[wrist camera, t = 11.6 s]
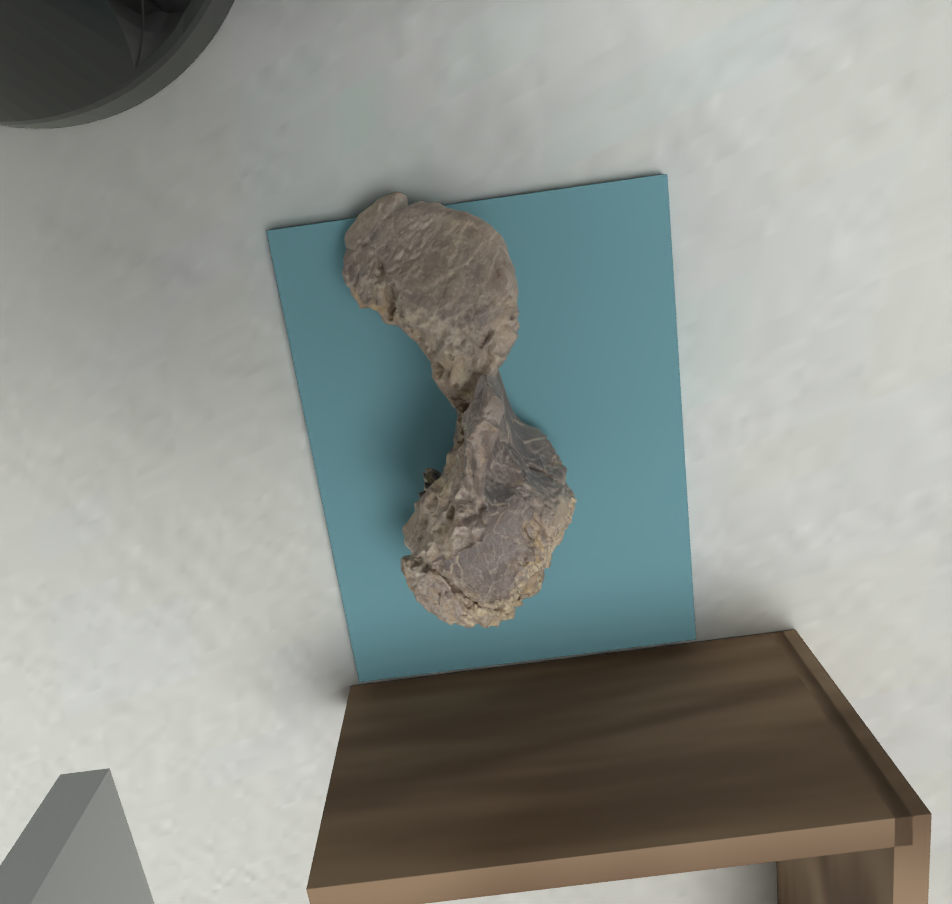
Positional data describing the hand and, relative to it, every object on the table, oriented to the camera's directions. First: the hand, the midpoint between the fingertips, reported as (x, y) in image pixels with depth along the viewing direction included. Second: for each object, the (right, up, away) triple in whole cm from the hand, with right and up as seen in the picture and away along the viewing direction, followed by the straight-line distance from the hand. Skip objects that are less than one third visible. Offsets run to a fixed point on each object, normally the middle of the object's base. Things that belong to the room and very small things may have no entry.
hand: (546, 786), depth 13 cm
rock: (-2, +7, +16) cm, 18 cm away
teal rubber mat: (0, +5, +17) cm, 18 cm away
